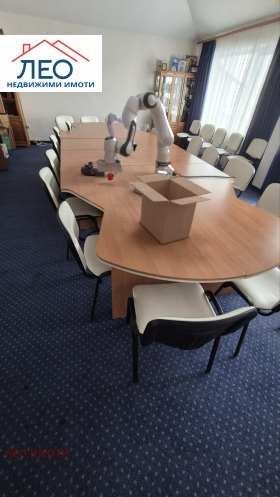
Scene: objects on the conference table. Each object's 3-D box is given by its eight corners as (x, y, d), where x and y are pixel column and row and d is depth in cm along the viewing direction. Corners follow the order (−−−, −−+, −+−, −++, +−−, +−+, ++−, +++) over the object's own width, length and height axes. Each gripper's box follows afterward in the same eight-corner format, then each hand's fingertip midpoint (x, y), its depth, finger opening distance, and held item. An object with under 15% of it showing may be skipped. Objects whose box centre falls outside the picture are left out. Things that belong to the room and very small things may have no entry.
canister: (110, 178, 186) (110, 172, 183) (114, 179, 184) (114, 173, 181) (106, 179, 183) (106, 173, 180) (110, 180, 181) (110, 175, 178)
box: (210, 242, 124) (224, 196, 108) (157, 258, 109) (164, 208, 93) (167, 209, 154) (173, 169, 138) (121, 218, 140) (121, 175, 123)
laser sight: (103, 178, 196) (102, 166, 190) (79, 175, 199) (78, 163, 193) (106, 175, 204) (106, 163, 198) (83, 172, 206) (82, 160, 201)
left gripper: (129, 140, 238) (129, 153, 247) (139, 138, 247) (138, 151, 255) (125, 138, 242) (125, 151, 251) (135, 137, 251) (134, 150, 259)
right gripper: (96, 160, 170) (97, 177, 179) (122, 161, 173) (122, 178, 181) (96, 158, 175) (97, 175, 184) (122, 158, 178) (122, 175, 186)
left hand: (131, 151), depth 253 cm, fingers open, 7 cm apart
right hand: (110, 176), depth 182 cm, fingers closed on canister, 5 cm apart
